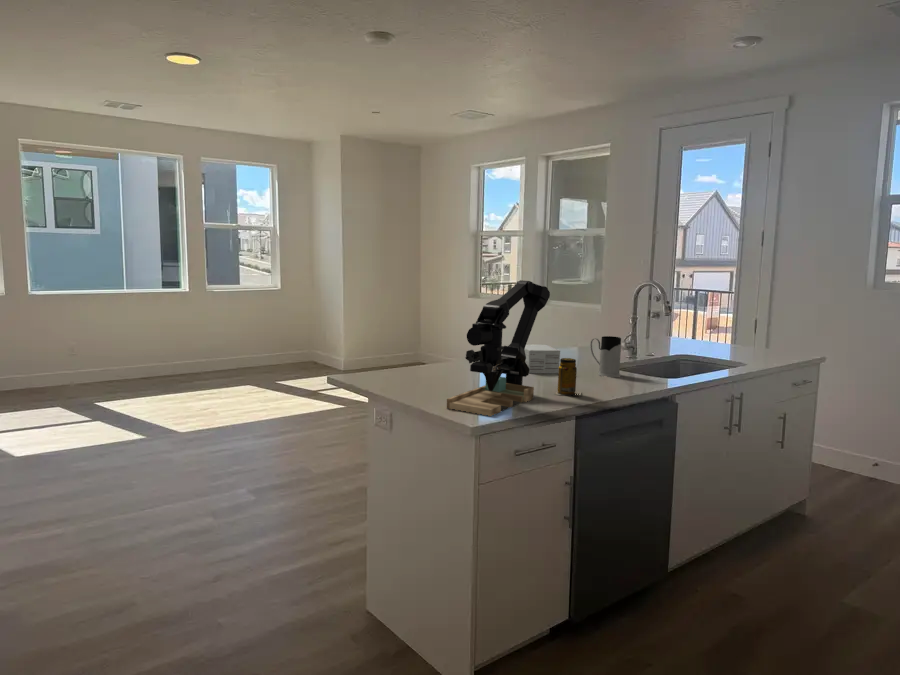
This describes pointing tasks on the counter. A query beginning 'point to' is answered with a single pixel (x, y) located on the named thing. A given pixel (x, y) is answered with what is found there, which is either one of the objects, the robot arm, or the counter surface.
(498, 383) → the block
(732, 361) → the counter surface
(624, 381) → the counter surface
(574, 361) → the condiment
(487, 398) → the tray
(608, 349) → the black and white mug
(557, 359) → the supplement box
